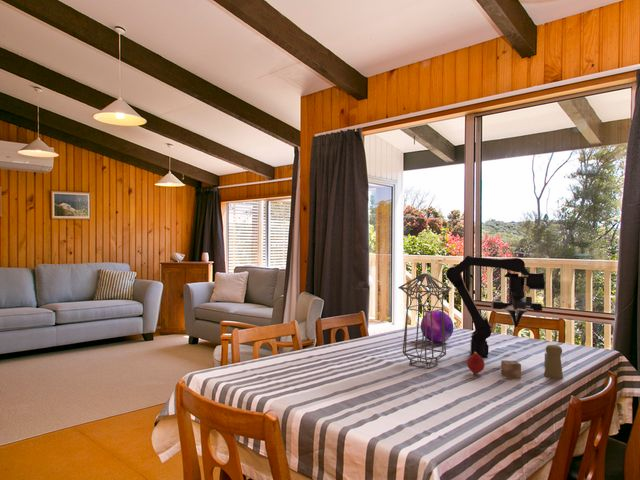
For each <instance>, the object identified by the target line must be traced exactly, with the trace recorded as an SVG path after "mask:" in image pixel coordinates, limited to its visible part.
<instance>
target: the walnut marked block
mask: <svg viewBox="0 0 640 480" xmlns="http://www.w3.org/2000/svg"><path fill="white" fill-rule="evenodd" d="M500 361H501V362H500V365H501V366H500V369H501V370H500V375H502V377H504V378H505V377H506V378H505V379H517V380H518V379H522V364H521V363H520V362H518V361H516V360H505V359H503V360H500Z"/></svg>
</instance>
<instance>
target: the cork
mask: <svg viewBox="0 0 640 480" xmlns="http://www.w3.org/2000/svg"><path fill="white" fill-rule="evenodd" d="M545 351H546V353H547V360H546V366H545V365H544V373H543V377H546V378H549V379H553V380H562V379H564V375H563V374H564V373H563V365H562V359H561V355H563V349H562V347H561V346H560V345H556V344H548V345H546V347H545Z"/></svg>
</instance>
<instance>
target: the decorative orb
mask: <svg viewBox="0 0 640 480" xmlns="http://www.w3.org/2000/svg"><path fill="white" fill-rule="evenodd" d="M433 311H434V310H433ZM444 328H445V342H446V341H448V340H449V339H450V338H451V336H452V335H453V333H454V322H453V320H452V318H451V316H450V315H449V314H448V313H446V312H444ZM420 330H421V333H422V334H423V318H422V319H421V321H420ZM432 331H433V344H434V343H435V344H439V343H441V344H442V310H439V311H434V312H432ZM424 338H425V315H424ZM427 341H428V342H431V316H430V313H429V312H427ZM443 341H444V335H443Z"/></svg>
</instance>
